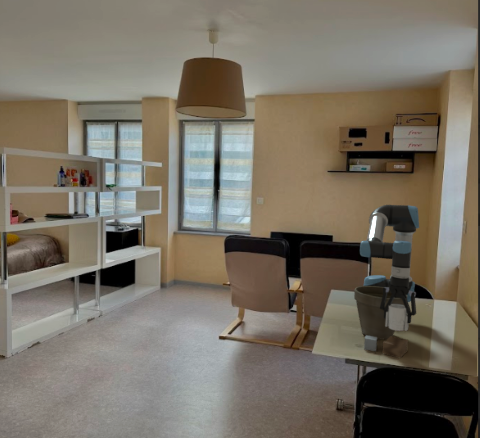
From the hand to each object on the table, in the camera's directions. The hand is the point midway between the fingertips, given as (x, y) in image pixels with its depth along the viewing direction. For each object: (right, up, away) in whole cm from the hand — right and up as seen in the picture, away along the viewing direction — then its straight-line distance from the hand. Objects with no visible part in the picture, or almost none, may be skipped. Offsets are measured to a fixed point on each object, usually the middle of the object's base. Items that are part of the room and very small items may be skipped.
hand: (396, 327), depth 191 cm
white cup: (0, 0, 0) cm, 1 cm away
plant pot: (-1, -10, +24) cm, 26 cm away
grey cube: (-10, -10, +4) cm, 15 cm away
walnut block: (0, -11, +1) cm, 11 cm away
